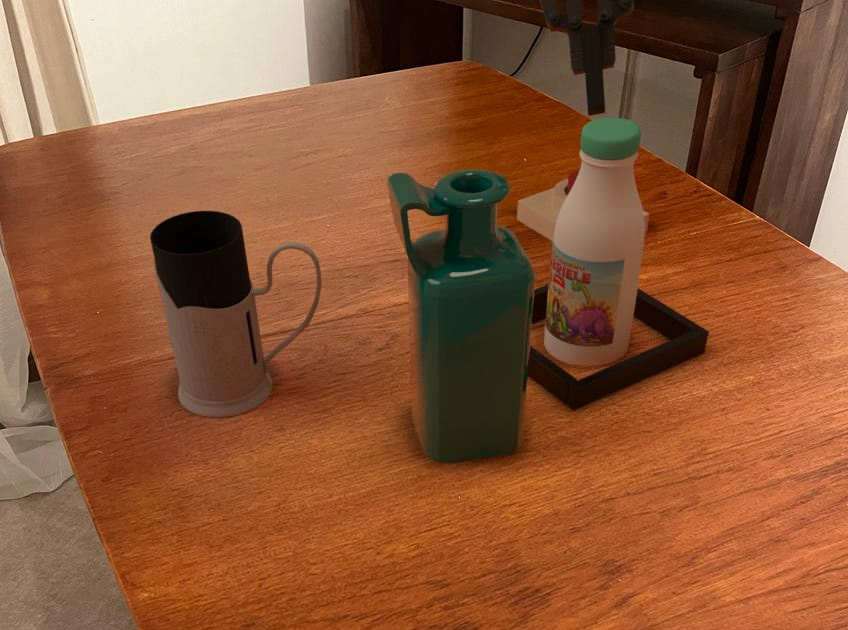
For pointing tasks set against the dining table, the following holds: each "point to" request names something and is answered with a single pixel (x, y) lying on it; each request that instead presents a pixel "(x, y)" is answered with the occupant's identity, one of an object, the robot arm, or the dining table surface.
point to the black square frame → (578, 393)
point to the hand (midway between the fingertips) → (596, 111)
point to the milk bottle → (597, 250)
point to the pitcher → (465, 317)
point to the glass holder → (216, 312)
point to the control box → (547, 210)
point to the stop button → (571, 180)
